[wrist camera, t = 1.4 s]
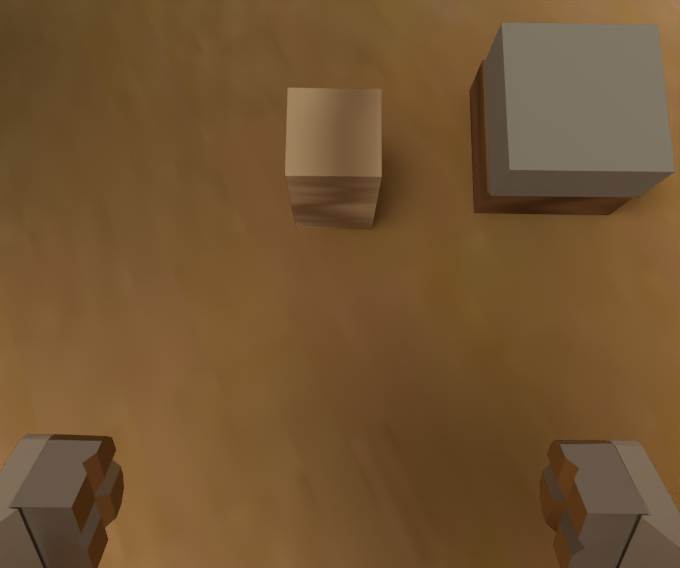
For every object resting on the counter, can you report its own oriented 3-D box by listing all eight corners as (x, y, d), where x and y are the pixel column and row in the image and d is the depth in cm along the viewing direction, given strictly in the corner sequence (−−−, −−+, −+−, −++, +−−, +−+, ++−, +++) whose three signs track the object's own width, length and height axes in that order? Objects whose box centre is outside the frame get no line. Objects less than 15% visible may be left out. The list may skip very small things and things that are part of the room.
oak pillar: (296, 228, 40) (284, 175, 31) (298, 158, 41) (287, 87, 32) (371, 229, 40) (381, 176, 31) (371, 158, 41) (381, 88, 32)
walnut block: (472, 214, 40) (487, 193, 36) (468, 92, 42) (482, 60, 38) (606, 216, 40) (635, 195, 37) (596, 95, 42) (622, 62, 38)
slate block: (490, 195, 36) (509, 169, 33) (484, 62, 38) (501, 22, 34) (638, 197, 37) (674, 171, 33) (625, 64, 38) (658, 24, 34)
